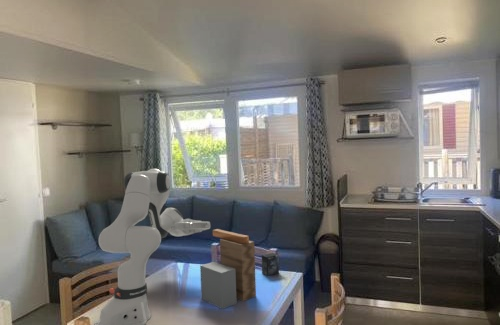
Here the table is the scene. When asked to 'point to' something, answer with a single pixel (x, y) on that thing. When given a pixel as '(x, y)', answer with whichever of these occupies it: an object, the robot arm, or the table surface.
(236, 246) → the tall plinth
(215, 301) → the low plinth
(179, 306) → the table surface
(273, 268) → the box
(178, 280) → the table surface
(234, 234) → the bar
